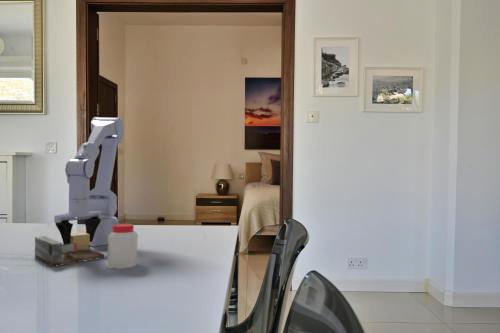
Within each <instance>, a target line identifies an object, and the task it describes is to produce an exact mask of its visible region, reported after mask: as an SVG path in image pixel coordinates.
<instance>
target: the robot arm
mask: <svg viewBox="0 0 500 333" xmlns="http://www.w3.org/2000/svg"><path fill="white" fill-rule="evenodd" d="M90 129H91V132H90V134H89V137H88V140H87V142H84V143H81V146H80V147H79V149H78V151H77V152H76V154H75V156H74V158H72V159H70V160H68V161H66V164H65V168H64V172H65V175H66V182H67V184H68V213H67V212H66V213H62V214H56V215H53V216H54V217H53V222H54V223H55V227H56V228H57V229H58V231H59V234H60V236H61V240H62V244H70V241H71V234H72V230H73V226H74V223H73V222H71V221H78V220H79V221H81V220H83V221H84V224H85V233H87V234H90V247H99V246H101V247H102V246H106V245H107V246H108V235H109V234H110V233H111V232H112V231H113V225H115V224H120V222H119V219H118V218H117V217H116V216H115V214H116V213H117V210H118V203H117V202H118V197H117V194H116V193H114V192H113V191H112V190H111V186H112V179H113V173H114V168H115V161H116V157H117V156H116V155H117V150H118V145H119V144H121V143H122V142H123V140H124V139H123V138H124V131H125V126H124V121H123V119H122V118H121V117H119V116H118V117H104V116H103V117H98V116H94V117H93V118H92V119H91V122H90ZM100 145H101V152H100V149H99V147H100ZM99 154H100V156H99ZM98 156H99V158H100V159H99V163H98V169H97V174H96V180H95V186H94V188H93V189H90V184H91V183H90V181H91V180H90V178H92V176H93V174H94V170H95V166H96V165H95V162H96V160H97V158H98ZM70 222H71V223H70Z"/></svg>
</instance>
